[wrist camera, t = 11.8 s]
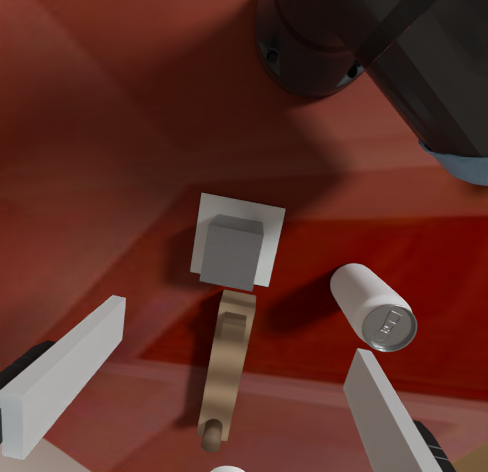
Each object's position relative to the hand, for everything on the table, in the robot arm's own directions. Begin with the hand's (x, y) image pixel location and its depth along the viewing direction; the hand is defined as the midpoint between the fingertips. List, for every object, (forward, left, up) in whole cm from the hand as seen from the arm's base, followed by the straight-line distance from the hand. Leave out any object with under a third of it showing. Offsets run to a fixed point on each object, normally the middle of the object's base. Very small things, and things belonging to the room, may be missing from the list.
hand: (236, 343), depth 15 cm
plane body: (+21, 0, -25) cm, 32 cm away
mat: (+1, -2, -25) cm, 25 cm away
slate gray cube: (+1, -2, -24) cm, 24 cm away
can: (+4, +16, -25) cm, 30 cm away
